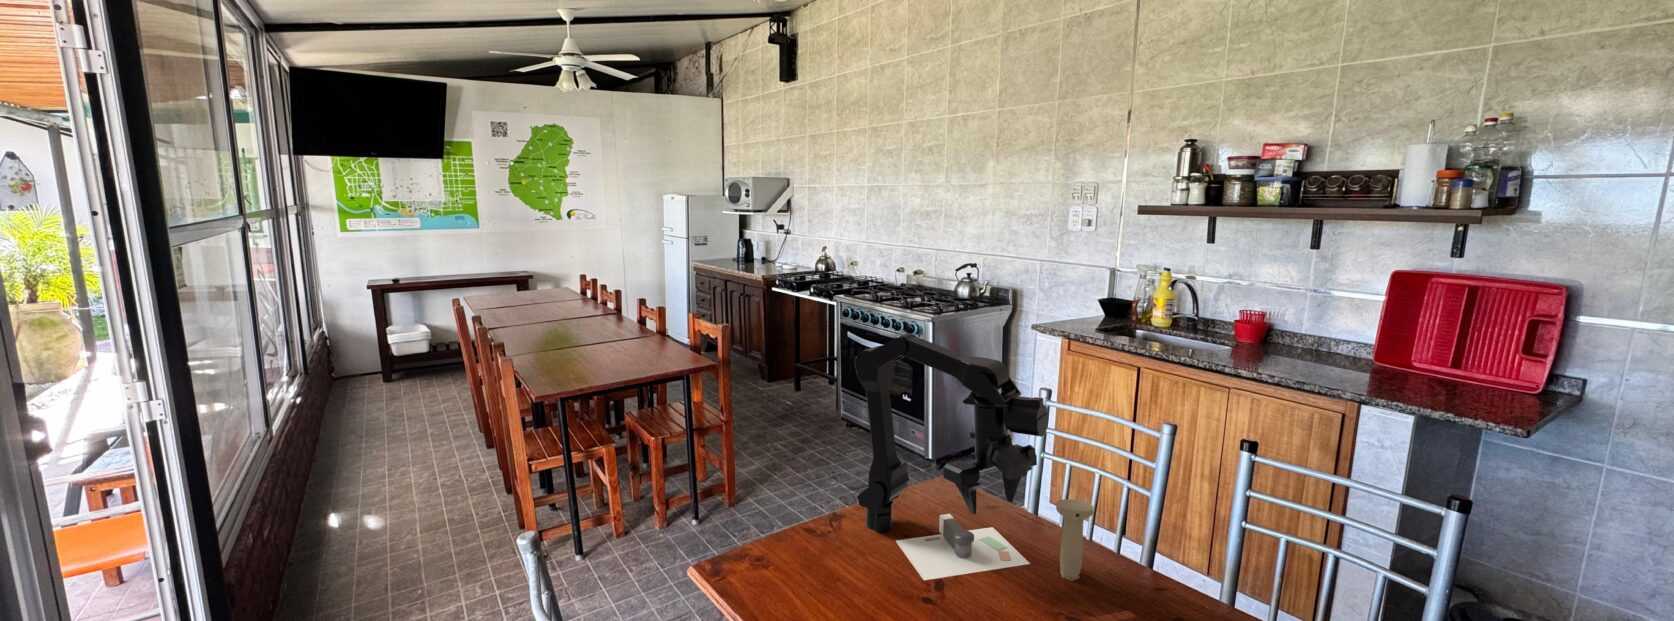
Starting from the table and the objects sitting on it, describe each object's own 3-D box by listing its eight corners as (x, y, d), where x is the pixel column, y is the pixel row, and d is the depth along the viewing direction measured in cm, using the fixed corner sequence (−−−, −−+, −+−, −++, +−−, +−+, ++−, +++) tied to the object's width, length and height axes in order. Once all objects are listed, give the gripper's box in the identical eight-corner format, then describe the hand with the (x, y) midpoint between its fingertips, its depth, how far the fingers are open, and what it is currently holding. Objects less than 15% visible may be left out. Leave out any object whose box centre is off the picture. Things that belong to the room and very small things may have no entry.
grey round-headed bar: (977, 556, 134) (977, 538, 134) (958, 559, 133) (958, 541, 133) (952, 530, 145) (953, 513, 144) (935, 532, 144) (935, 515, 143)
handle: (1090, 588, 126) (1096, 512, 124) (1054, 586, 127) (1059, 510, 124) (1083, 574, 131) (1089, 500, 128) (1049, 572, 131) (1053, 498, 129)
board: (895, 545, 141) (895, 539, 141) (992, 531, 147) (992, 526, 147) (923, 585, 127) (923, 579, 127) (1029, 568, 133) (1030, 562, 133)
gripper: (981, 450, 118) (983, 536, 120) (1058, 428, 127) (1059, 509, 129) (940, 434, 127) (942, 514, 129) (1015, 415, 136) (1016, 490, 138)
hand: (991, 507), depth 131 cm, fingers open, 9 cm apart
